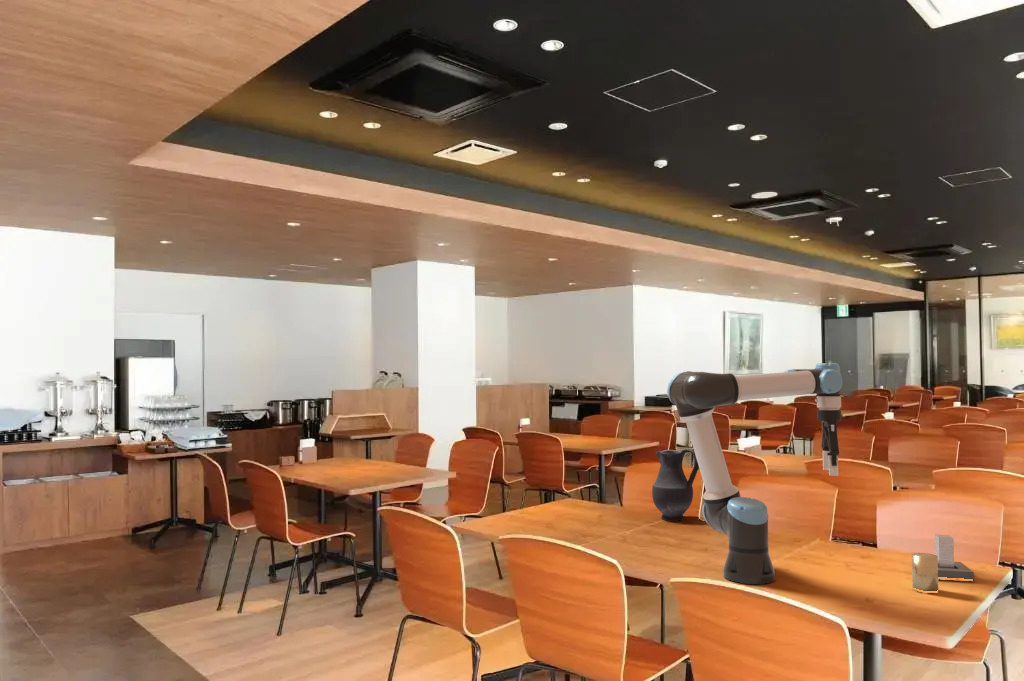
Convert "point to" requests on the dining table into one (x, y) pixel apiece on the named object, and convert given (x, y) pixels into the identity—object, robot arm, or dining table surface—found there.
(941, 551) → the square bit
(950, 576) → the bore block
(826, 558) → the dining table surface
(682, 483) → the pitcher
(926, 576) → the round bit
